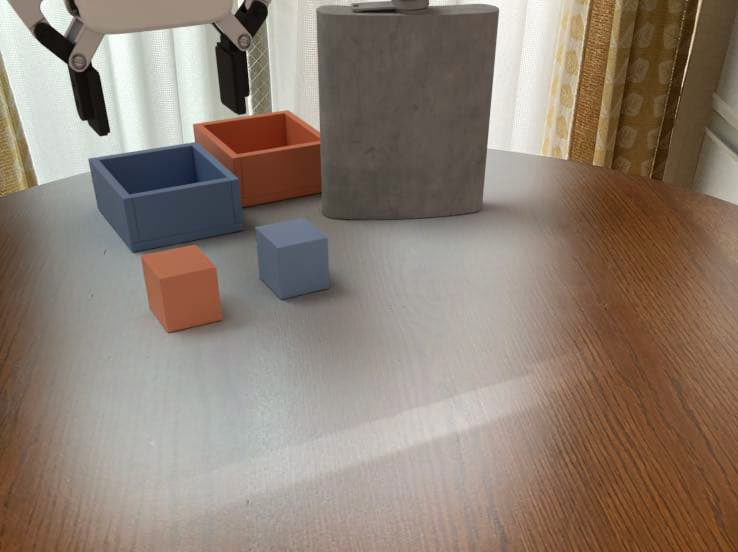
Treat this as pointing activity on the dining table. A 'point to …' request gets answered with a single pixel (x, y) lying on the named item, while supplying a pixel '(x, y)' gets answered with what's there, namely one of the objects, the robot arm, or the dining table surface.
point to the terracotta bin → (266, 154)
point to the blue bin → (166, 195)
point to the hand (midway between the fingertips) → (168, 119)
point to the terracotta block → (182, 287)
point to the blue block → (292, 257)
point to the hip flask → (404, 107)
